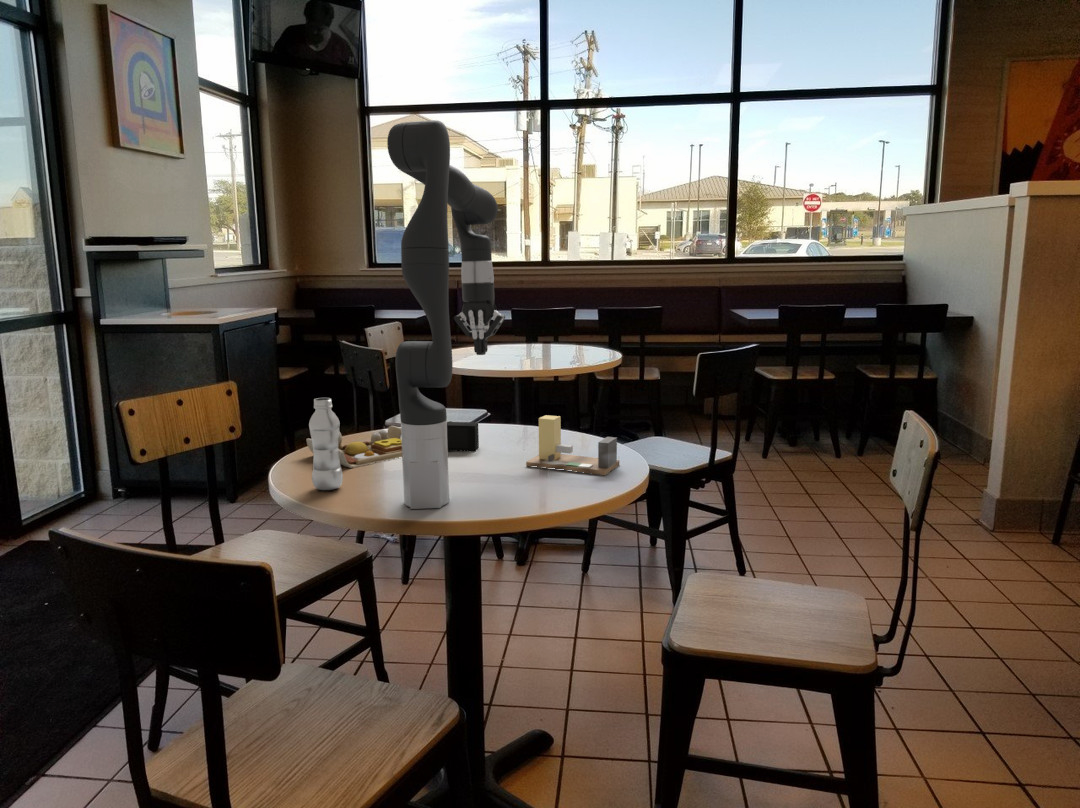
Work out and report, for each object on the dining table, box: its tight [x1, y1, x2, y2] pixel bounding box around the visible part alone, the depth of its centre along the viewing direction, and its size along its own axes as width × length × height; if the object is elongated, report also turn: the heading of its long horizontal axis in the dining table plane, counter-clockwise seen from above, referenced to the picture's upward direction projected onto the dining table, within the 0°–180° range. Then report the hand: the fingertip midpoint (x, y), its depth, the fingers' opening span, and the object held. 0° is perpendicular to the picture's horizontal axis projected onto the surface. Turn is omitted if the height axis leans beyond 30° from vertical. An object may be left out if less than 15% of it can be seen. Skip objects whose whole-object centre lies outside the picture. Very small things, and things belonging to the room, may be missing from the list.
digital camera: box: [447, 420, 480, 453], centre depth 206 cm, size 10×5×7 cm, turn 83°
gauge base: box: [525, 436, 620, 476], centre depth 188 cm, size 20×10×7 cm, turn 65°
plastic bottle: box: [308, 397, 344, 491], centre depth 171 cm, size 6×7×20 cm
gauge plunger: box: [538, 414, 574, 461], centre depth 189 cm, size 8×6×10 cm
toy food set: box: [305, 425, 402, 469], centre depth 201 cm, size 25×18×8 cm
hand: (481, 354), depth 188 cm, fingers closed
